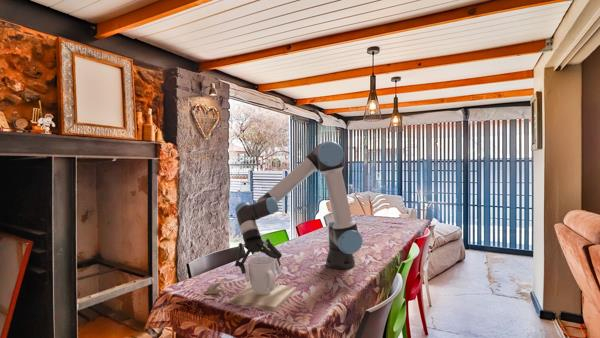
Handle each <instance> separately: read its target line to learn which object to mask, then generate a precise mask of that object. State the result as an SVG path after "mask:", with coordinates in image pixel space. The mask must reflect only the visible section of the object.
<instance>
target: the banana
mask: <svg viewBox="0 0 600 338" xmlns="http://www.w3.org/2000/svg"><path fill="white" fill-rule="evenodd" d="M226 280H227V277H224V278H223V279H221V281H219V282H216V283H214V284H212V285H210V286H209V287H208V288H207V289H206V290H205V291H203V293H204V294H207V295H216V296H219V293H222V294H224V293H225V290H223V289H222V288H221V289H216V288H217V287H218V286H220V285H222V283H224V282H225V281H226ZM204 294H203V295H204ZM207 295H206V296H207Z"/></svg>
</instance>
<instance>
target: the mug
mask: <svg viewBox="0 0 600 338" xmlns="http://www.w3.org/2000/svg"><path fill="white" fill-rule="evenodd" d="M248 273H249V277H250V280H249V283H250V285H251V287H252V289H253V291H254V293H255V294H257V295H266V294H269V293H270V292H271V291H273V290H274V288H275V284H276V276H277V271H276V264H275V259H274V258H271V257H269V256H257V257H252V258H250V259H249V260H248Z"/></svg>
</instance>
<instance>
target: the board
mask: <svg viewBox="0 0 600 338" xmlns="http://www.w3.org/2000/svg"><path fill="white" fill-rule="evenodd" d="M296 291H297V286H291V285H283V284H278V283H277V284H276V283H275V288H274V290H273V291H271V292H270V293H269V294H266V295H257V294H255V293H254V291H253V289H252V287H251V284H250V285H248V286H247V287H245V288H244V289H242V290H241V291H239V292H238V293H237V294H235V295H234V296H232V297H231V298H229V299H228V301H229V302H228V303H229V304H231V305H238V306H243V307H250V308H255V309H262V310H267V311H272V312H273V311H275V312H277V310H278V309H279V308H281V306H282V305H283V304H285V302H287V300H288V299H289V298H291V296H293V295H294V293H296Z"/></svg>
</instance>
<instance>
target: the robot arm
mask: <svg viewBox="0 0 600 338" xmlns="http://www.w3.org/2000/svg"><path fill="white" fill-rule="evenodd" d="M344 155H345V154H344V150H343V148H342V146H341V145H340V144H339V143H338V142H336V141H332V140H328V141H324V142H321V143H318V144H317V145H316V146H315V147H314V148H313V149H312V150H311V151H309V153H308V154H307V155H306V156H305V157H304V160H303V161H302V162H301V163H300V164H298V165H297V166H296V167H295V168H294V169H293V170H291V171H290V172H288V174H287V175H285V177H284V178H282V179H281V180H280V181H279V182H278V183H276V184H275V185H274V186H273V187H272V188H271V189H269V190H268V191H267V192H266V193H264V195H262V196H260V197H259V198H258V199H257V201H256V202H255V203H253V204H250V202H248V201H244V202H243V201H242V202H240V203H237V205H236V206H235V208H234V211H235V216H236V219H237V222H238V225H239V228H240V231H241V235H242V239H243V243H242V242H239V243H238V245H237V246H238V247H237V248H238V252H237V256H236V260H235V264H234V266H235V267H238V268H239V269H240V271H241V275H244V276H245V281H246V283H250V277H249V268H248V267H247V264H246V260H247V259H248V258H249V255H250V253H252V254H256V253H259V252H260V253H263V254H265V256H267V257H271V258H274V259H275V264H276V275H277V276H280V275H281V274H282V269H281V261H280V259H281V258H282V253H281V252H280V251H279V250H278V249H277V248H276V247H275V245H273V243H271V241H270V240H271V239H269V238H266V239H265V240H263V239H262V236H261V233H260V231H259V230H260V229H259V226H258V224H257V220H260V219H262V218H264V217H268V216H271V215H274V214H275V213H278V212H279V211H280V208H279V205H278V203H279V202H280V201H281V200H283V199H284V198H285V197H286V196H287V195H289V194H290V193H291V192H292V191H293V190H294V189H295V188H297V186H299V185H300V184H301V183H303V182H304V181H305V180H306V179H307V178H308V177H309V176H311V175H312V174H314V173H315V172H319V171H320V173H321V174H322V175H323V176H324V181H325V184H326V190H327V195H328V198H329V203H330V208H331V212H332V217H333V221H330V222H328V226H327V227H328V252H327V255H326V260H325V266H327V267H328V268H331V269H335V270H346V269H352V268H354V267H355V266H356V260H355V257H354V254H356V253H357V252H359V250H360V249H361V248H362V246H363V240H364V239H363V236H362V234H361V233H360V232H359V230H358V224H357V221H356V220H354V219H353V217H352V213H351V209H350V204H349V200H348V199H349V198H348V194H347V189H346V186H345V185H346V184H345V180H344V176H343V169H344V168H345V166H344V165H345V164H344V161H343V159H344ZM244 248H245V249H246V250H247V251H246V252H245V254H244V255H243V258H242V260H241V256H242V251H243V250H244Z"/></svg>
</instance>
